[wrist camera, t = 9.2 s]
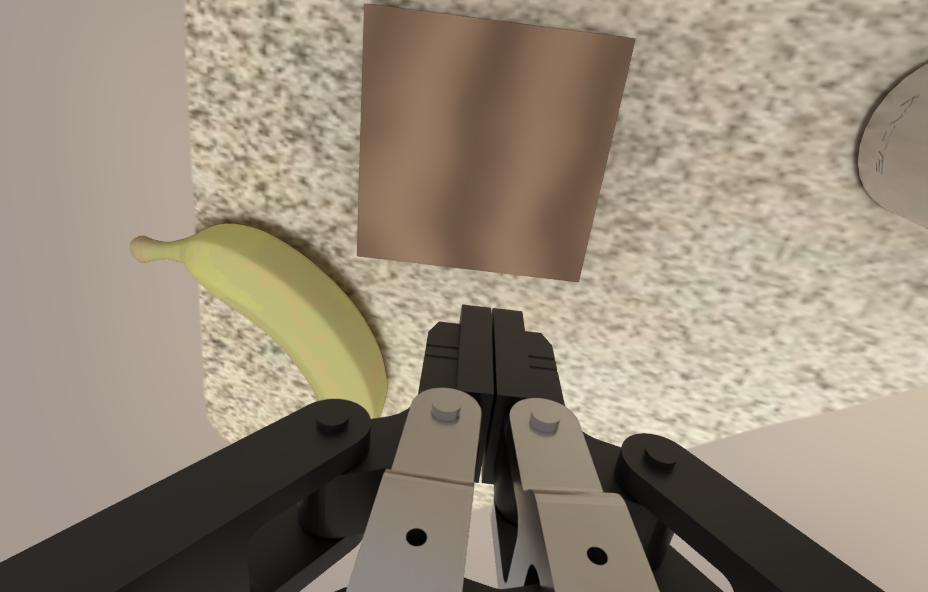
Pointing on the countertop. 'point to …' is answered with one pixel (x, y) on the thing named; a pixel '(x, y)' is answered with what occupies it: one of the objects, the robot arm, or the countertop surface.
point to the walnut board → (484, 140)
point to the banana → (284, 306)
